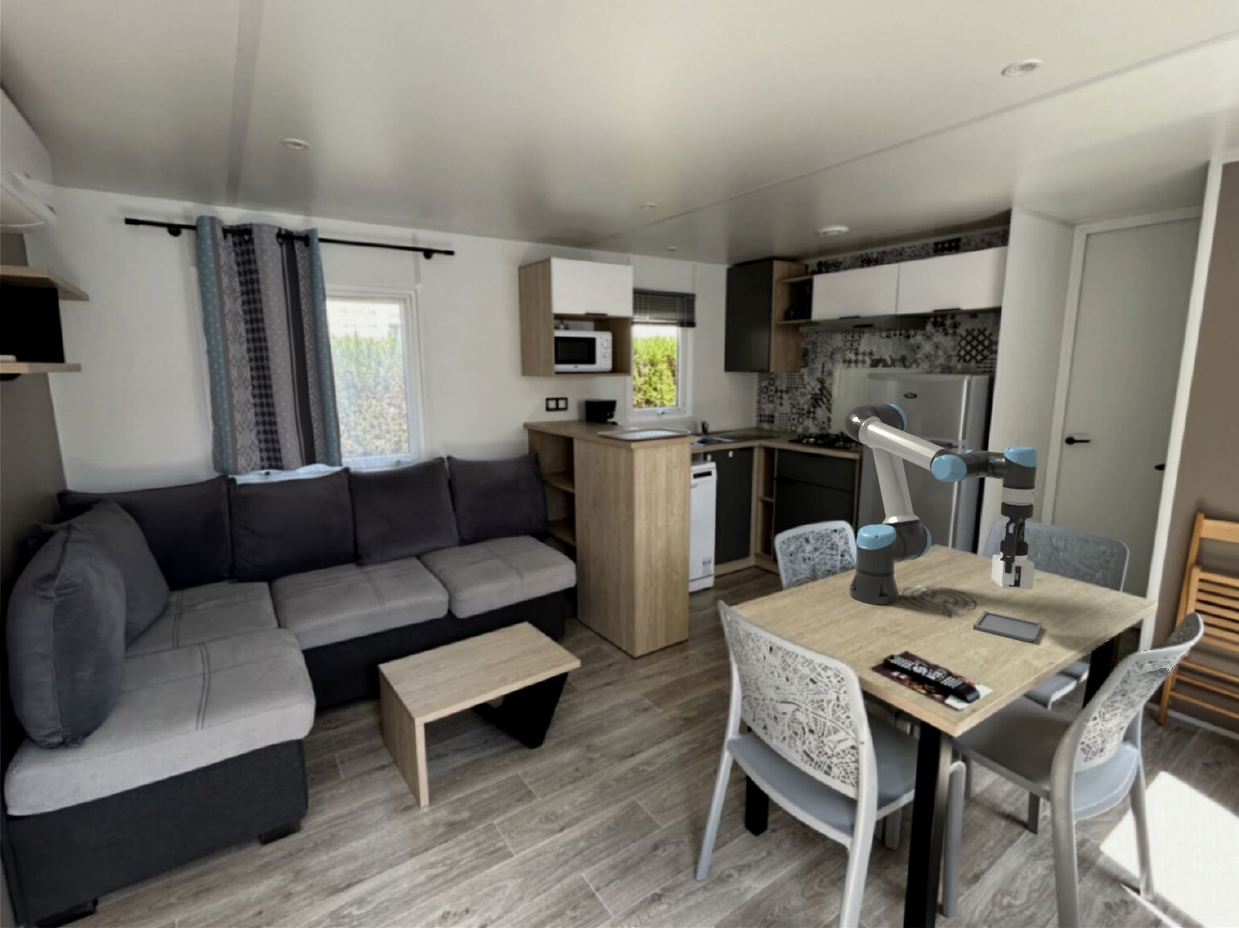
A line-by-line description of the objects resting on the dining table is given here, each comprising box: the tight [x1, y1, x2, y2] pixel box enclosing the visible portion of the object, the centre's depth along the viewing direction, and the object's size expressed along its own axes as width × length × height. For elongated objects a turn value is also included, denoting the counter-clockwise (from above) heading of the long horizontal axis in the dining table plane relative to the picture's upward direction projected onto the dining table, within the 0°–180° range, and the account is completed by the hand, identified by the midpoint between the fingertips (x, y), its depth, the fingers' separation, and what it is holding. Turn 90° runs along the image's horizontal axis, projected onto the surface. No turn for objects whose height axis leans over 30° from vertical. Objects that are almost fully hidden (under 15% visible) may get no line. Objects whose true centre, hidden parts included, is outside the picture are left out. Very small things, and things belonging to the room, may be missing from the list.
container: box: [990, 538, 1035, 591], centre depth 166 cm, size 8×8×13 cm
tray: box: [972, 610, 1043, 645], centre depth 169 cm, size 14×14×1 cm
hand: (1011, 578), depth 166 cm, fingers closed on container, 10 cm apart
